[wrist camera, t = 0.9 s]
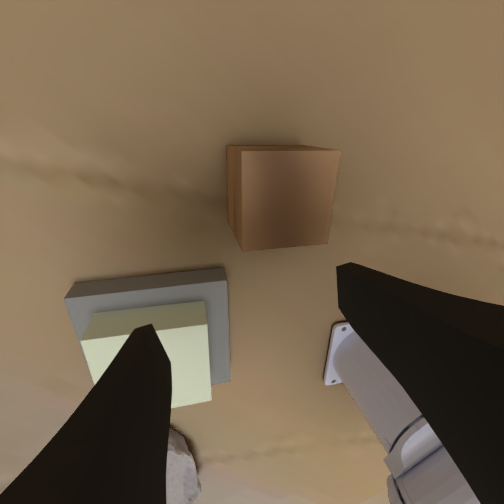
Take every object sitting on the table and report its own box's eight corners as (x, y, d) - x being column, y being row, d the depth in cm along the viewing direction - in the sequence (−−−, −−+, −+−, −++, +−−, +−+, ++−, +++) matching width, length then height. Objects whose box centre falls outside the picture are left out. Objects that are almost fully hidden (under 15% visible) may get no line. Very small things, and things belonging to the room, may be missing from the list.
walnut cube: (301, 145, 17) (340, 150, 13) (295, 217, 19) (327, 243, 15) (225, 145, 16) (241, 151, 12) (228, 222, 18) (242, 251, 14)
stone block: (167, 397, 27) (61, 456, 24) (176, 443, 23) (50, 521, 20) (205, 451, 32) (123, 504, 30) (217, 495, 28) (124, 561, 26)
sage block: (204, 300, 18) (207, 324, 16) (208, 372, 21) (211, 400, 19) (93, 313, 17) (80, 340, 15) (114, 388, 20) (106, 420, 18)
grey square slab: (222, 263, 20) (226, 280, 18) (226, 358, 24) (230, 381, 22) (78, 278, 18) (63, 298, 16) (110, 379, 22) (102, 406, 20)
